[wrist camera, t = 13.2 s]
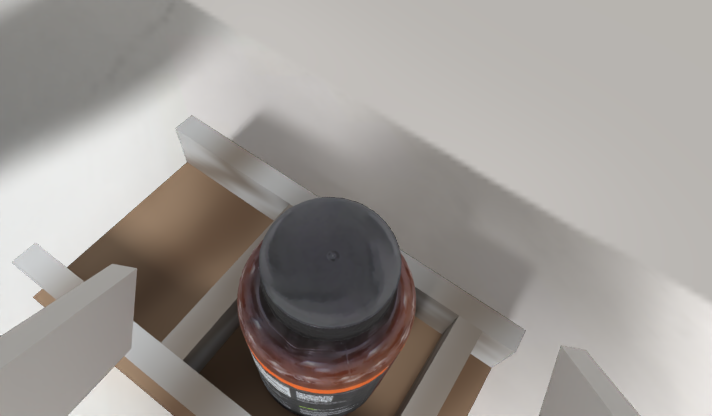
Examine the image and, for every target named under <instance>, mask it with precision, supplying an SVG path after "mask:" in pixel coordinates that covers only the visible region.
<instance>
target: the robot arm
mask: <svg viewBox="0 0 712 416" xmlns="http://www.w3.org/2000/svg"><path fill="white" fill-rule="evenodd" d="M136 277H137V268H133V267H128V266H122V265H117V264H111V265H109V266H108V267H106V268H105V269H103V270H102V271H100V272H99V273H97V274H96V275H94V276H93V277H91V278H89V279H88V280H86V281H85V282H83V283H82V284H80V285H79V286H77V287H76V288H74V289H72V290H71V291H69V292H68V293H66V294H65V295H63V296H62V297H60V298H59V299H57V300H56V301H54V302H52V303H51V304H49V305H48V306H46V307H45V308H43V309H42V310H40V311H39V312H37V313H36V314H34V315H32V316H31V317H29V318H28V319H26V320H25V321H23V322H22V323H20V324H19V325H17V326H15V327H14V328H12V329H11V330H9V331H8V332H6V333H5V334H3V335H2V336H0V416H68V415H69V414H70V412H71V411H72V410H73V409H74V408H75V407H76V406H77V405H78V404H79V403H80V402H81V401H82V400H83V399H84V398H85V397H86V396H87V395H88V394H89V393H90V391H91V390H92V389H93V388H94V387H95V386H96V385H97V384H98V383H99V382H100V381H101V380H102V379H103V378H104V377H105V376H106V375H107V374H108V373H109V371H110V370H111V369H112V368H113V367H114V366H115V365H116V364H117V363H118V362H119V361H120V360H121V359H122V358H123V357H124V356H125V355H126V354H127V353H128V352H129V350H130V349H131V344H132V331H133V317H134V304H135V290H136ZM539 416H640V415H639V414H638V412H637V411H636V410H635V409H634V408H633V406H632V405H631V404H630V403H629V402H628V400H627V399H626V398H625V397H624V396H623V394H622V393H621V392H620V391H619V390H618V388H617V387H616V386H615V385H614V384H613V382H612V381H611V380H610V379H609V378H608V376H607V375H606V374H605V373H604V372H603V370H602V369H601V368H600V367H599V366H598V364H597V363H596V362H595V361H594V360H593V358H592V357H591V356H590V355H589V353H588V352H587V351H586V350H583V349H577V348H572V347H566V346H561V347H560V350H559V354H558V357H557V360H556V363H555V366H554V369H553V373H552V376H551V379H550V382H549V385H548V388H547V392H546V395H545V398H544V401H543V404H542V408H541V411H540V414H539Z"/></svg>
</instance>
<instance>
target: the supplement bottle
mask: <svg viewBox="0 0 712 416" xmlns="http://www.w3.org/2000/svg"><path fill="white" fill-rule="evenodd" d="M237 307H238V318H239V323H240V326H241V330H242V332H243V335H244V337H245V340H246V342H247V345H248V347H249V349H250V352H251V354H252V356H253V359H254V361H255V364H256V366H257V369H258V371H259V373H260V376H261V379H262V381H263V382H264V384H265V386H266V388H267V390H268V391H269V393H270V394H271V396H272V397H273V398H274V399H275V401H276V402H278V403H279V404H280V405H281V406H282V407H283V408H285V409H286V410H288V411H289V412H290V413H292V414H294V415H297V416H346V415H348V414H349V413H351V412H353V411H355V410H356V409H357V408H359V407H360V406H361V405H363V404H364V403H365V402H366V401H367V400H368V398H369V397H370V396H371V395H372V393H373V392H374V390H375V389H376V388H377V386H378V385H379V384H380V382H381V381H382V379H383V378H384V376H385V374H386V373H387V371H388V370H389V368H390V367H391V365H392V364H393V362H394V361H395V359H396V358H397V356H398V354H399V353H400V351H401V350H402V348H403V347H404V345H405V343H406V341H407V339H408V337H409V334H410V332H411V329H412V326H413V322H414V316H415V309H416V292H415V285H414V281H413V277H412V273H411V271H410V268H409V266H408V264H407V262H406V260H405V258H404V257H403V255H402V254H401V252H400V249H399V245H398V243H397V240H396V238H395V236H394V233H393V232H392V231H391V229H390V227H389V226H388V225H387V224H386V222H385V221H384V220H383V219H382V218H381V217H380V216H379V215H378V214H376V213H375V212H374V211H373V210H371V209H369V208H368V207H366V206H364V205H363V204H360V203H358V202H355V201H351V200H348V199H344V198H335V197H322V198H315V199H311V200H307V201H304V202H301V203H299V204H297V205H295V206H293V207H291V208H289V209H288V210H286V211H285V212H284V213H282V214H281V215H280V216H279V217H278V219H277V220H276V221H275V222H274V223H273V224H272V225H271V227H270V228H269V230H268V231H267V233H266V235H265V237H264V239H263V240H262V241H261V242H260V243H259V244H258V246H256V248H255V249H254V250H253V252H252V254H251V256H250V257H249V259H248V260H247V262H246V264H245V266H244V268H243V271H242V275H241V277H240V281H239V287H238V293H237Z"/></svg>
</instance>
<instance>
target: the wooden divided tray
mask: <svg viewBox="0 0 712 416" xmlns="http://www.w3.org/2000/svg"><path fill="white" fill-rule="evenodd" d="M175 129H176V132H177V135H178V138H179V140H180V143H181V146H182V149H183V152H184V155H185V157H186V160H187V163H186V164H185V165H183V166H182V167H181V168H180V169H179V170H178V171H177V172H175V173H174V174H173V175H172V176H171V177H170V178H169V179H167V180H166V181H165V182H164V183H163V184H162V185H161V186H159V187H158V188H157V189H156V190H155V191H154V192H153V193H151V194H150V195H149V196H148V197H147V198H146V199H145V200H143V201H142V202H141V203H140V204H139V205H138V206H137V207H135V208H134V209H133V210H132V211H131V212H130V213H129V214H127V215H126V216H125V217H124V218H123V219H122V220H121V221H119V222H118V223H117V224H116V225H115V226H114V227H113V228H111V229H110V230H109V231H108V232H107V233H106V234H105V235H103V236H102V237H101V238H100V239H99V240H98V241H97V242H95V243H94V244H93V245H92V246H91V247H90V248H89V249H87V250H86V251H85V252H84V253H83V254H82V255H81V256H79V257H78V258H77V259H76V260H75V261H74V262H73V263H71V264H70V265H69V266H68V267H65V266H64V265H63V264H62V263H60V262H59V261H58V260H57V259H55V258H54V257H53V256H52V255H50V254H49V253H48V252H47V251H45V250H44V249H43V248H42V247H40V246H39V245H38V244H37V243H34V244H33V245H32V246H31V247H30V248H28V249H27V250H26V251H25V252H23V253H22V254H21V255H20V256H19V257H17V258H16V259H15V260H14V261H12V262H11V263H12V264H14V265H15V266H16V267H17V268H19V269H20V270H21V271H22V272H23V273H25V274H26V275H27V276H28V277H29V278H31V279H32V280H33V281H34V282H35V283H37V284H38V285H39V286H40V287H41V288H43V289H42V290H41V291H39V292H38V293H37V294H36V295H35V296H34V297H33V298H34V299H35V300H37V301H38V302H39V303H40V304H41V305H43V306H44V307H46V306H48V305H49V304H51V303H52V302H54V301H56V300H57V299H59V298H60V297H62V296H63V295H65V294H66V293H68V292H69V291H71V290H72V289H74V288H76V287H77V286H79V285H80V284H82V283H83V282H85V281H86V280H88V279H89V278H91V277H93V276H94V275H96V274H97V273H99V272H100V271H102V270H103V269H105V268H106V267H108V266H109V265H111V264H117V265H122V266H128V267H133V268H137V277H136V290H135V304H134V317H133V331H132V344H131V349H130V350H129V352H128V353H127V354H126V355H125V356H124V357H123V358H122V359H121V360H120V361H119V362H118V363H117V364H116V365H115V367H116V368H118V369H119V370H120V371H121V372H122V373H123V374H125V375H126V376H127V377H128V378H129V379H131V380H132V381H133V382H134V383H135V384H137V385H138V386H139V387H140V388H141V389H142V390H144V391H145V392H146V393H147V394H148V395H150V396H151V397H152V398H153V399H154V400H156V401H157V402H158V403H159V404H160V405H162V406H163V407H164V408H165V409H166V410H167V411H169V412H170V413H171V414H172V415H173V416H297V415H294V414H292V413H290V412H289V411H288V410H286V409H285V408H283V407H282V406H281V405H280V404H279V403H278V402H276V401H275V399H274V398H273V397H272V396H271V394H270V393H269V391H268V390H267V388H266V386H265V384H264V382H263V381H262V379H261V376H260V373H259V371H258V369H257V366H256V364H255V361H254V359H253V356H252V354H251V352H250V349H249V347H248V345H247V342H246V340H245V337H244V335H243V332H242V330H241V326H240V323H239V318H238V307H237V293H238V287H239V281H240V277H241V275H242V271H243V268H244V266H245V264H246V262H247V260H248V259H249V257H250V256H251V254H252V252H253V250H254V249H255V248H256V246H258V244H259V243H260V242H261V241H262V240H263V239H264V237H265V235H266V233H267V231H268V230H269V228H270V227H271V225H272V224H273V223H274V222H275V221H276V220H277V219H278V217H279V216H280V215H281V214H282V213H284V212H285V211H286V210H288V209H289V208H291V207H293V206H295V205H297V204H299V203H301V202H304V201H307V200H311V199H315V198H320V197H318V196H317V195H315V194H313V193H312V192H310V191H309V190H307V189H306V188H304V187H303V186H301V185H299V184H298V183H296V182H295V181H293V180H292V179H290V178H289V177H287V176H286V175H284V174H282V173H281V172H279V171H278V170H276V169H275V168H273V167H272V166H270V165H268V164H267V163H265V162H264V161H262V160H261V159H259V158H258V157H256V156H254V155H253V154H251V153H250V152H248V151H247V150H245V149H244V148H242V147H241V146H239V145H237V144H236V143H234V142H233V141H231V140H230V139H228V138H227V137H225V136H223V135H222V134H220V133H219V132H217V131H216V130H214V129H213V128H211V127H209V126H208V125H206V124H205V123H203V122H202V121H200V120H199V119H197V118H196V117H194V116H192V115H191V116H190V117H189V118H188V119H186V120H185V121H184V122H183V123H181V124H180V125H179V126H178V127H177V128H175ZM400 252H401V254H402V255H403V257H404V258H405V260H406V262H407V264H408V266H409V268H410V271H411V273H412V277H413V281H414V285H415V292H416V309H415V316H414V322H413V326H412V329H411V332H410V334H409V337H408V339H407V341H406V343H405V345H404V347H403V348H402V350H401V351H400V353H399V354H398V356H397V358H396V359H395V361H394V362H393V364H392V365H391V367H390V368H389V370H388V371H387V373H386V374H385V376H384V378H383V379H382V381H381V382H380V384H379V385H378V386H377V388H376V389H375V390H374V392H373V393H372V395H371V396H370V397H369V398H368V400H367V401H366V402H365V403H364V404H363V405H361V406H360V407H359V408H357V409H356V410H355V411H353V412H351V413H349V414H348V415H346V416H467V415H468V413H469V411H470V409H471V407H472V406H473V404H474V402H475V400H476V398H477V396H478V394H479V392H480V390H481V388H482V386H483V384H484V382H485V380H486V378H487V376H488V374H489V372H490V370H491V368H492V367H494V366H495V365H497V364H498V363H500V362H501V361H503V360H504V359H506V358H508V357H509V356H511V355H512V354H514V353H515V352H516V350H517V348H518V346H519V344H520V342H521V339H522V337H523V335H524V333H525V331H526V330H524V329H523V328H521V327H520V326H518V325H517V324H515V323H514V322H512V321H510V320H509V319H507V318H506V317H504V316H503V315H501V314H500V313H498V312H497V311H495V310H493V309H492V308H490V307H489V306H487V305H486V304H484V303H483V302H481V301H479V300H478V299H476V298H475V297H473V296H472V295H470V294H469V293H467V292H465V291H464V290H462V289H461V288H459V287H458V286H456V285H455V284H453V283H452V282H450V281H448V280H447V279H445V278H444V277H442V276H441V275H439V274H438V273H436V272H434V271H433V270H431V269H430V268H428V267H427V266H425V265H424V264H422V263H420V262H419V261H417V260H416V259H414V258H413V257H411V256H410V255H408V254H407V253H405V252H403V251H402V250H400Z"/></svg>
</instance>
